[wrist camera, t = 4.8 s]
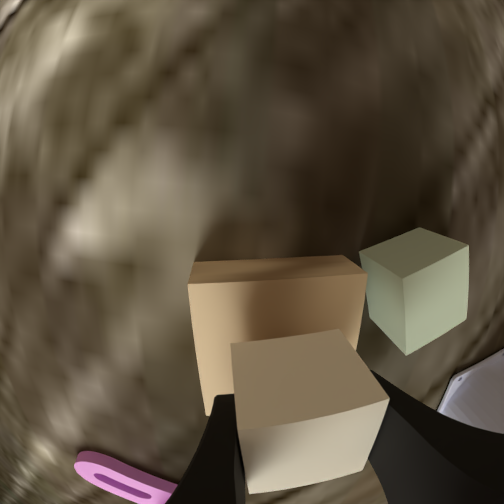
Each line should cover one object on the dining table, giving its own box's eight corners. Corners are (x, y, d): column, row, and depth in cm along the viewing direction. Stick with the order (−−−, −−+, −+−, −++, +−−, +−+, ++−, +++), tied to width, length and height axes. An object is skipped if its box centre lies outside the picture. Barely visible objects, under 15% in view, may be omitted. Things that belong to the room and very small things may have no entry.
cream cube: (339, 328, 10) (389, 398, 6) (330, 402, 11) (362, 470, 7) (230, 343, 10) (237, 429, 6) (240, 417, 11) (249, 493, 7)
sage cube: (418, 227, 14) (468, 245, 10) (424, 290, 15) (466, 318, 11) (358, 251, 13) (402, 278, 10) (369, 316, 15) (405, 355, 11)
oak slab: (339, 253, 14) (367, 273, 11) (326, 366, 16) (344, 399, 13) (194, 259, 13) (187, 284, 10) (207, 378, 15) (206, 415, 12)
